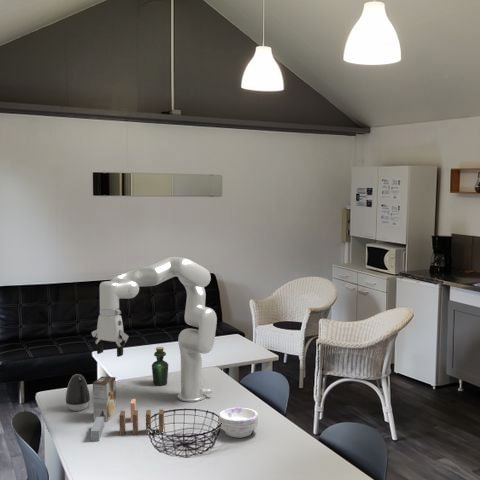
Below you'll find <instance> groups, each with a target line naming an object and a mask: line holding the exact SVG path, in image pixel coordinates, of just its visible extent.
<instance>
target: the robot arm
mask: <svg viewBox="0 0 480 480" xmlns="http://www.w3.org/2000/svg"><path fill="white" fill-rule="evenodd" d="M174 277H177V278H178V280H179V281H180V283H181V284H182V285H183V287H184V288H185V291H186V302H185V310H184V322H185V323H186V324H187V325H189V326H192V327H196V328H184V329H183V330H181V331H180V333H179V334H178V338H177V339H178V341H177V342H178V347H179V355H180V392H179V393H178V394H177V399H178V400H179V401H182V402H186V403H187V402H189V403H191V402H192V403H193V402H199V401H202V400H204V399H205V398H206V394H207V395H211V394H213V390H212V388H211V389H210V388H204V387H203V383H202V382H203V381H202V380H203V377H202V376H203V374H202V373H203V362H202V361H203V360H202V354H203V355H204V354H205V355H206V354H208V353H210V352H211V351H212V350H213V348H214V345H215V338H216V331H217V324H218V322H217V321H218V317H217V313H216V312H215V310H214V309H213V308H211V307H208V306H206V296H207V295H206V289H205V287H207V286H208V285H209V284H210V282H211V280H212V279H211V273H210V271H209V270H208V269H207V268H206V267H204V266H202V265H200V264H198V263H196V262H195V261H193V260H191V259H189V258H186V257H180V256H170V257H167V258H164V259H162V260H160V261H158V262H156V263H154V264H151V265H148V266H145V267H141V268H137V269H134V270H130V271H126V272H124V273H121V274H119V275H117V276H115V277H113V278H112V279H111V280H108V281H107V280H106V281H101V282H100V284H99V315H98V318H97V325H96V329H95V330H93V331H91V335H92V337H93V338H92V339H93V340H94V343H95V344H96V353H97V355H99V354H102V353H104V341H106V342H112V343H114V342H115V344H116V345H117V346H116V357H118V358H119V357H122V356H123V355H124V346H125V344H126V343H127V342H128V340H129V335H128V334H127V333H125V332H124V325H123V324H124V323H123V319H122V315H121V314H122V311H121V310H120V299H133V298H135V297H136V296H137V295H138V294H139V292H140V287H153V286H157V285H159V284H162V283H163V282H166V281H168V280H170V279H172V278H174ZM197 328H198V329H197Z"/></svg>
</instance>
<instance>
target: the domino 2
mask: <svg viewBox="0 0 480 480" xmlns="http://www.w3.org/2000/svg"><path fill="white" fill-rule="evenodd" d="M136 401H137V400H136V398H132V399H131V401H130V423H133V412H134V410H137V409H136V408H137V404H136Z"/></svg>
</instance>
